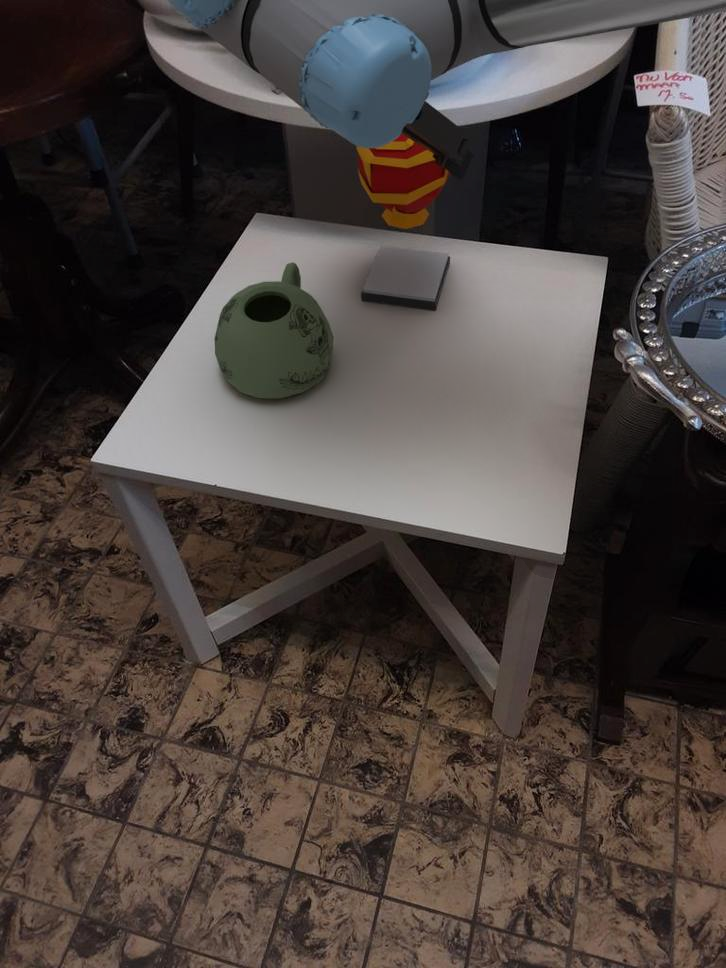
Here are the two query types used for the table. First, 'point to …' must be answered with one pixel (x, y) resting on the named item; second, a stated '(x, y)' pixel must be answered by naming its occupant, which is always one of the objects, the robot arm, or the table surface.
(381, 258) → the scale
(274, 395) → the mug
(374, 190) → the potion bottle
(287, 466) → the table surface
